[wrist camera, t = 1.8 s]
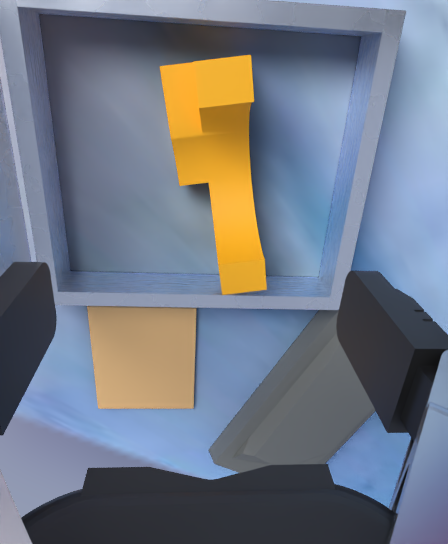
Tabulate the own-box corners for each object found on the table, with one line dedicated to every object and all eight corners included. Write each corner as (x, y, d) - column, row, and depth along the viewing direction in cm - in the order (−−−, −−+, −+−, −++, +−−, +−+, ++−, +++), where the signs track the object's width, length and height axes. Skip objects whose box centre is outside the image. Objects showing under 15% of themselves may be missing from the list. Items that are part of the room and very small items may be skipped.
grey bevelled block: (206, 444, 39) (206, 478, 36) (335, 280, 31) (350, 304, 28) (294, 477, 41) (302, 510, 38) (431, 333, 34) (454, 360, 31)
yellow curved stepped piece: (164, 66, 24) (153, 66, 18) (238, 57, 24) (251, 54, 18) (192, 253, 29) (191, 298, 24) (253, 245, 29) (266, 289, 24)
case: (387, -13, 23) (413, -24, 20) (329, 289, 31) (341, 310, 28) (12, -43, 21) (-15, -59, 18) (57, 283, 30) (44, 304, 27)
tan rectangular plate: (196, 306, 31) (196, 308, 31) (193, 405, 36) (193, 408, 35) (88, 304, 30) (87, 306, 30) (99, 405, 35) (98, 408, 35)
